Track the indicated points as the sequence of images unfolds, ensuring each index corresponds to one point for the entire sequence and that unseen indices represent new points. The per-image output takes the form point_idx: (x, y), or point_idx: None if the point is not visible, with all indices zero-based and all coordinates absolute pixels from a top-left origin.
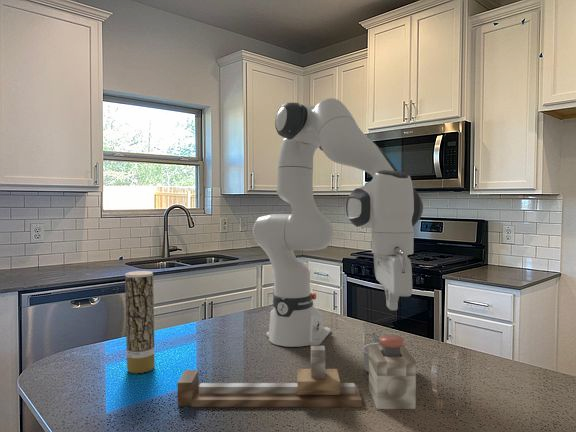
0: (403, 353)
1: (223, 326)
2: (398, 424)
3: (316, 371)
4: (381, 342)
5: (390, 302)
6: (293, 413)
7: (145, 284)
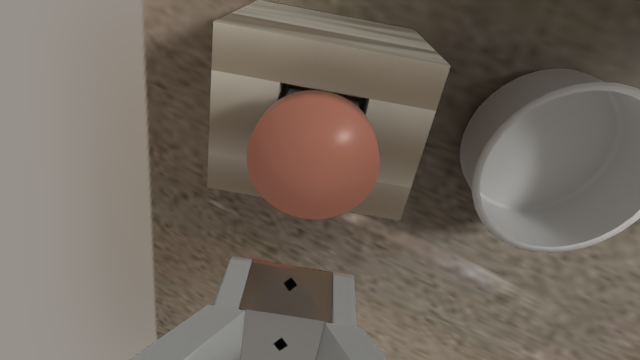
0: None
1: None
2: (160, 30)
3: None
4: (295, 97)
5: (212, 309)
6: None
7: None
